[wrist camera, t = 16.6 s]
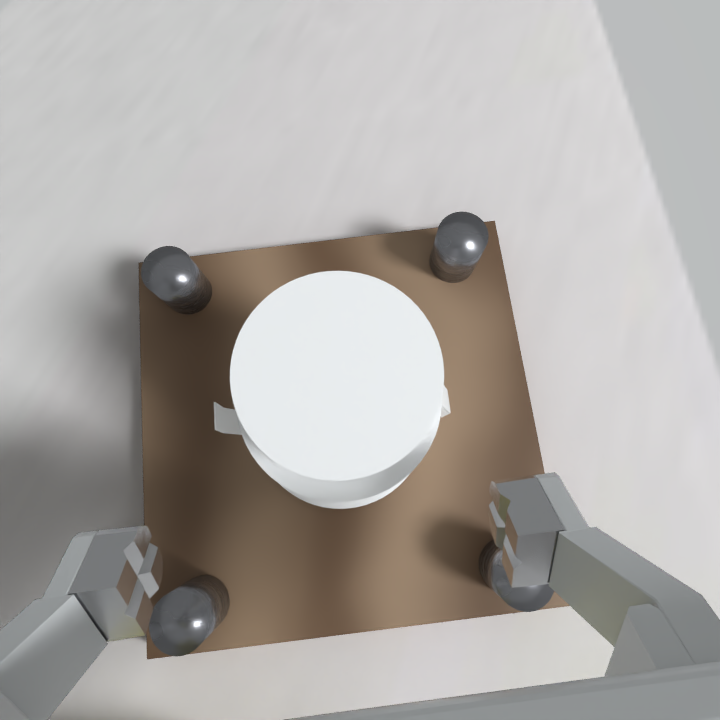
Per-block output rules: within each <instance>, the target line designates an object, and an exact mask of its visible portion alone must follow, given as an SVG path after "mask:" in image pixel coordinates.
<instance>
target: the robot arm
mask: <svg viewBox="0 0 720 720" xmlns="http://www.w3.org/2000/svg"><path fill="white" fill-rule="evenodd" d="M490 494H491V497H492V500H493V501H492V502H491V503H490V504H489V512H488V516H489V523H490V529H491V533H492V536H493V539H494V542H495V545H496V546H498V547H499V548H500V549H501V550H503V554H502V564H503V566H504V569H505V571H506V574H507V577H508V579H509V582H510V585H511V587H512V588H514V587H524V586H534V585H543V584H549V587H550V588H552V589H553V590H554V591H555V592H556V593H557V594H558V595H559V596H560V597H561V598H562V599H563V600H564V601H565V602H567V603H568V604H569V605H570V606H571V607H572V608H573V609H574V610H575V611H576V612H577V613H578V614H579V615H581V616H582V617H583V618H584V619H585V620H586V621H587V622H588V623H589V624H590V625H591V626H592V627H593V628H595V629H596V630H597V631H598V632H599V633H600V634H601V635H602V636H603V637H604V638H605V639H606V640H607V641H609V642H610V643H611V644H612V645H613V646H614V647H615V648H614V651H613V653H612V656H611V659H610V662H609V665H608V668H607V670H606V673H605V677H598V678H591V679H584V680H576V681H569V682H561V683H554V684H546V685H539V686H532V687H524V688H517V689H509V690H502V691H495V692H487V693H479V694H472V695H464V696H457V697H449V698H442V699H434V700H427V701H419V702H412V703H404V704H397V705H389V706H382V707H374V708H367V709H359V710H352V711H344V712H337V713H329V714H322V715H315V716H307V717H300V718H292V719H285V720H720V620H719V618H718V617H717V615H716V614H715V613H714V611H713V610H712V608H711V607H710V606H709V604H708V603H707V601H706V600H705V599H704V597H703V596H702V595H701V594H699V593H698V592H696V591H695V590H693V589H691V588H690V587H688V586H687V585H685V584H684V583H682V582H681V581H679V580H678V579H676V578H674V577H673V576H671V575H670V574H668V573H667V572H665V571H664V570H662V569H660V568H659V567H657V566H656V565H654V564H653V563H651V562H650V561H648V560H646V559H645V558H643V557H642V556H640V555H639V554H637V553H636V552H634V551H632V550H631V549H629V548H628V547H626V546H625V545H623V544H622V543H620V542H618V541H617V540H615V539H614V538H612V537H611V536H609V535H608V534H606V533H604V532H603V531H601V530H600V529H598V528H597V527H592V528H590V527H589V526H588V524H587V522H586V521H585V519H584V517H583V516H582V514H581V512H580V511H579V509H578V507H577V505H576V504H575V502H574V500H573V499H572V497H571V495H570V494H569V492H568V490H567V488H566V487H565V485H564V483H563V482H562V480H561V478H560V477H559V475H558V474H556V473H555V472H554V473H547V474H539V475H534V476H532V475H530V476H522V477H515V478H508V479H501V480H494V481H492V482H491V484H490ZM151 536H152V534H151V533H150V531H149V529H148V527H147V526H135V527H125V528H115V529H105V530H98V531H89V532H80V533H78V534H77V535H76V536H74V537H73V539H72V540H71V542H70V544H69V546H68V548H67V550H66V552H65V554H64V556H63V558H62V560H61V562H60V564H59V566H58V568H57V570H56V572H55V574H54V576H53V578H52V580H51V582H50V584H49V586H48V588H47V590H46V592H45V594H44V596H43V598H41V599H35V600H34V601H33V602H32V603H31V604H30V605H28V606H27V607H26V608H25V609H24V610H23V611H22V612H20V613H19V614H18V615H17V616H16V617H15V618H14V619H13V620H11V621H10V622H9V623H8V624H7V625H6V626H5V627H3V628H2V629H1V630H0V720H47V719H48V718H49V717H50V716H51V714H52V713H53V712H54V711H55V709H56V708H57V707H58V706H59V704H60V703H61V702H62V701H63V699H64V698H65V697H66V696H67V694H68V693H69V692H70V691H71V689H72V688H73V687H74V686H75V684H76V683H77V682H78V681H79V679H80V678H81V677H82V676H83V674H84V673H85V672H86V671H87V669H88V668H89V667H90V666H91V664H92V663H93V662H94V660H95V659H96V658H97V657H98V655H99V654H100V653H101V652H102V650H103V649H104V648H105V647H106V645H107V644H108V643H107V642H108V641H115V640H121V639H127V638H134V637H140V636H145V635H146V632H147V629H148V625H149V622H150V618H151V615H152V612H153V608H154V606H153V604H152V602H151V600H150V598H151V597H152V596H153V595H154V594H155V592H156V591H157V590H158V589H159V588H160V584H161V580H162V575H163V561H162V556H161V553H160V551H159V548H158V547H156V546H155V545H153V544H151V543H149V542H150V539H151Z"/></svg>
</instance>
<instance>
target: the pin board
mask: <svg viewBox="0 0 720 720" xmlns="http://www.w3.org/2000/svg"><path fill="white" fill-rule="evenodd" d="M325 271H350V272H357V273H361V274H366V275H369V276H372V277H375V278H378V279H380V280H382V281H384V282H387V283H388V284H390V285H392V286H394V287H395V288H397V289H398V290H400V291H401V292H403V293H404V294H405V295H406V296H407V297H409V298H410V299H411V300H412V301H413V302H414V303H415V304H416V305H417V306H418V307H419V309H420V310H421V311H422V312H423V313H424V315H425V316H426V318H427V319H428V321H429V322H430V324H431V326H432V328H433V330H434V332H435V334H436V337H437V339H438V342H439V345H440V348H441V352H442V357H443V365H444V386H445V387H446V389H447V391H448V398H449V405H450V411H451V413H450V414H448V415H446V416H444V417H440V421H439V426H438V429H437V432H436V435H435V438H434V440H433V442H432V444H431V446H430V448H429V450H428V452H427V453H426V455H425V456H424V458H423V459H422V461H421V462H420V463H419V464H418V466H417V467H416V468H415V469H414V470H413V471H412V472H411V473H410V474H409V476H408V477H407V478H406V479H405V480H404V481H403V482H402V483H401V484H400V485H399V486H398V487H397V488H396V489H395V490H393V491H392V492H391V493H389V494H388V495H386V496H385V497H383V498H381V499H379V500H377V501H375V502H372V503H370V504H367V505H364V506H360V507H355V508H347V509H332V508H325V507H320V506H316V505H313V504H310V503H308V502H305V501H303V500H301V499H299V498H297V497H296V496H294V495H292V494H291V493H290V492H288V491H287V490H286V489H284V488H283V487H282V486H281V485H280V484H279V483H278V482H276V481H275V480H274V479H273V478H271V477H270V476H269V475H268V474H267V473H266V472H265V471H264V470H263V469H262V468H261V467H260V465H259V464H258V463H257V462H256V460H255V459H254V458H253V456H252V455H251V453H250V451H249V449H248V448H247V446H246V444H245V441H244V439H243V437H242V435H238V434H226V433H221V432H219V431H217V430H215V424H214V402H216V403H217V404H219V405H220V406H222V407H223V408H228V409H234V410H235V407H234V403H233V399H232V394H231V387H230V365H231V358H232V353H233V349H234V346H235V343H236V340H237V337H238V335H239V333H240V330H241V329H242V327H243V325H244V323H245V321H246V320H247V318H248V317H249V316H250V314H251V313H252V312H253V310H254V309H255V308H256V307H257V306H258V305H259V304H260V303H261V302H262V301H263V300H264V299H265V298H266V297H267V296H268V295H270V294H271V293H272V292H273V291H275V290H276V289H278V288H279V287H281V286H283V285H285V284H286V283H288V282H290V281H292V280H295V279H297V278H300V277H303V276H306V275H309V274H314V273H318V272H325ZM139 307H140V353H141V400H142V446H143V493H144V526H147V527H148V529H149V531H150V533H151V534H152V536H151V539H150V542H149V543H151V544H153V545H155V546H156V547H158V548H159V551H160V553H161V556H162V561H163V575H162V580H161V584H160V588H159V589H158V590H157V591H156V592H155V594H154V595H153V596H152V597H151V598H150V600H151V602H152V604H153V606H154V608H153V612H152V615H151V618H150V622H149V625H148V629H147V659H154V658H161V657H169V656H183V655H186V654H193V653H201V652H209V651H217V650H225V649H233V648H240V647H248V646H256V645H264V644H272V643H280V642H288V641H296V640H304V639H312V638H319V637H327V636H335V635H343V634H351V633H359V632H367V631H375V630H383V629H391V628H398V627H406V626H414V625H422V624H430V623H438V622H446V621H454V620H462V619H470V618H477V617H485V616H493V615H501V614H509V613H517V612H531V611H536V610H541V609H549V608H556V607H564V606H570V605H569V604H568V603H567V602H565V601H564V600H563V599H562V598H561V597H560V596H559V595H558V594H557V593H556V592H555V591H554V590H553V589H552V588H550V587H549V584H543V585H534V586H524V587H514V588H512V587H511V585H510V582H509V579H508V577H507V574H506V571H505V569H504V566H503V564H502V554H503V550H501V549H500V548H499V547H498V546H496V545H495V542H494V539H493V536H492V533H491V529H490V523H489V516H488V512H489V504H490V503H491V502H492V501H493V500H492V497H491V494H490V484H491V482H492V481H494V480H501V479H508V478H515V477H522V476H530V475H532V476H534V475H539V474H545V473H544V468H543V462H542V457H541V452H540V447H539V442H538V437H537V432H536V427H535V422H534V417H533V412H532V407H531V402H530V397H529V392H528V387H527V382H526V377H525V372H524V366H523V361H522V356H521V351H520V346H519V341H518V336H517V331H516V326H515V321H514V316H513V311H512V306H511V301H510V296H509V291H508V286H507V281H506V276H505V270H504V265H503V260H502V255H501V250H500V245H499V240H498V235H497V230H496V225H495V221H489V222H483V221H482V220H481V219H480V218H479V217H478V216H476V215H474V214H472V213H468V212H456V213H452V214H450V215H448V216H447V217H445V218H444V219H443V220H442V222H441V223H440V225H439V227H438V228H429V229H421V230H412V231H404V232H395V233H387V234H378V235H370V236H361V237H353V238H344V239H336V240H327V241H319V242H310V243H302V244H293V245H285V246H276V247H268V248H259V249H251V250H242V251H234V252H225V253H217V254H208V255H200V256H191V257H189V256H188V254H187V253H186V252H185V251H183V250H182V249H180V248H177V247H173V246H165V247H160V248H158V249H156V250H154V251H152V252H151V253H150V254H149V255H148V256H147V257H146V258H145V260H144V262H140V263H139Z"/></svg>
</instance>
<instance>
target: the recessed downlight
mask: <svg viewBox="0 0 720 720" xmlns="http://www.w3.org/2000/svg"><path fill="white" fill-rule="evenodd" d="M230 387H231V394H232V399H233V403H234V407H235V410H234V409H228V408H223V407H222V406H220V405H219V404H217V403H216V402H214V424H215V430H217V431H219V432H221V433H226V434H238V435H242V437H243V439H244V441H245V444H246V446H247V448H248V449H249V451H250V453H251V455H252V456H253V458H254V459H255V460H256V462H257V463H258V464H259V465H260V467H261V468H262V469H263V470H264V471H265V472H266V473H267V474H268V475H269V476H270V477H271V478H273V479H274V480H275V481H276V482H278V483H279V484H280V485H281V486H282V487H283V488H284V489H286V490H287V491H288V492H290V493H291V494H292V495H294V496H296V497H297V498H299V499H301V500H303V501H305V502H308V503H310V504H313V505H316V506H320V507H325V508H332V509H347V508H355V507H360V506H364V505H367V504H370V503H372V502H375V501H377V500H379V499H381V498H383V497H385V496H386V495H388V494H389V493H391V492H392V491H393V490H395V489H396V488H397V487H398V486H399V485H400V484H401V483H402V482H403V481H404V480H405V479H406V478H407V477H408V476H409V474H410V473H411V472H412V471H413V470H414V469H415V468H416V467H417V466H418V464H419V463H420V462H421V461H422V459H423V458H424V456H425V455H426V453H427V452H428V450H429V448H430V446H431V444H432V442H433V440H434V438H435V435H436V432H437V429H438V426H439V421H440V417H444V416H446V415H448V414H450V413H451V411H450V405H449V398H448V391H447V389H446V387H445V386H444V365H443V357H442V352H441V348H440V345H439V342H438V339H437V337H436V334H435V332H434V330H433V328H432V326H431V324H430V322H429V321H428V319H427V318H426V316H425V315H424V313H423V312H422V311H421V310H420V309H419V307H418V306H417V305H416V304H415V303H414V302H413V301H412V300H411V299H410V298H409V297H407V296H406V295H405V294H404V293H403V292H401V291H400V290H398V289H397V288H395V287H394V286H392V285H390V284H388V283H387V282H384V281H382V280H380V279H378V278H375V277H372V276H369V275H366V274H361V273H357V272H350V271H325V272H318V273H314V274H309V275H306V276H303V277H300V278H297V279H295V280H292V281H290V282H288V283H286V284H285V285H283V286H281V287H279V288H278V289H276V290H275V291H273V292H272V293H271V294H270V295H268V296H267V297H266V298H265V299H264V300H263V301H262V302H261V303H260V304H259V305H258V306H257V307H256V308H255V309H254V310H253V312H252V313H251V314H250V316H249V317H248V318H247V320H246V321H245V323H244V325H243V327H242V329H241V330H240V333H239V335H238V337H237V340H236V343H235V346H234V349H233V353H232V358H231V365H230Z"/></svg>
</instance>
